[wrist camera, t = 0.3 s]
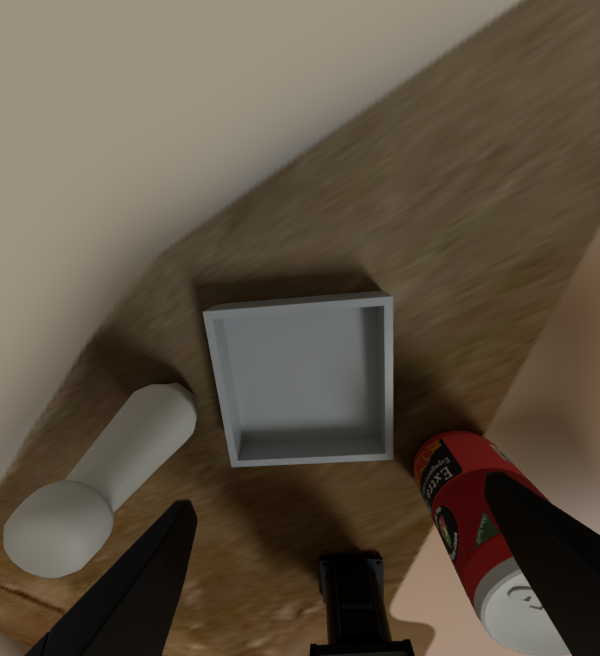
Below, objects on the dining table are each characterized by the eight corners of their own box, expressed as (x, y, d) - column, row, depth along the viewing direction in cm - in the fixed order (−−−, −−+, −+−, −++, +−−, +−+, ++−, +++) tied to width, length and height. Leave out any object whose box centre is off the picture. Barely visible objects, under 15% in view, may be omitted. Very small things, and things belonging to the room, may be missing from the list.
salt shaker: (133, 413, 25) (-40, 570, 13) (154, 362, 24) (-19, 483, 11) (192, 440, 26) (80, 616, 13) (216, 391, 24) (116, 538, 12)
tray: (383, 435, 25) (393, 459, 22) (240, 443, 26) (231, 467, 23) (382, 290, 22) (393, 296, 19) (216, 304, 22) (202, 311, 19)
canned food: (416, 424, 25) (497, 555, 14) (508, 430, 24) (659, 566, 14) (404, 493, 27) (466, 653, 16) (488, 499, 26) (607, 664, 16)
